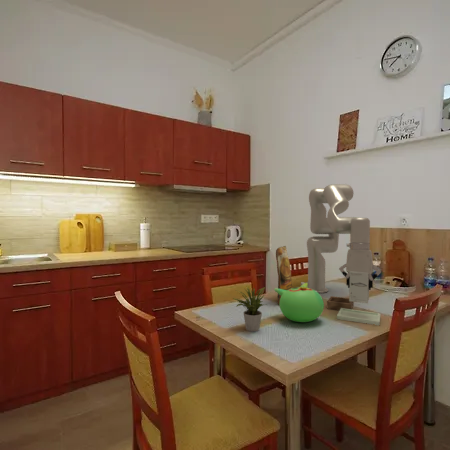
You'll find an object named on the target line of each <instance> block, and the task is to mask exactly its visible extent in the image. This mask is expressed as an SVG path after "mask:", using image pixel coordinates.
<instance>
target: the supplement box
mask: <svg viewBox="0 0 450 450" xmlns="http://www.w3.org/2000/svg"><path fill="white" fill-rule="evenodd" d="M348 289H349V290H348V291H349V294H348V295H349V301H353V302H354V303H362V304H368V303H369V299H370V298H369V297H370V290H369V274H368V273H364V272H352V271H350V288H348Z"/></svg>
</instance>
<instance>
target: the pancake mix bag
mask: <svg viewBox="0 0 450 450" xmlns="http://www.w3.org/2000/svg"><path fill="white" fill-rule="evenodd" d="M288 255H289V254H288V252H287V246H286V245H283V246H278V248H277V249H275V259H276V269H277V270H276V271H277V276H278V278H277V283H278V284H277V288H278V289H283V290H289V289H291V288H293V284H292V283H293V281H292V271H291V263H290V259H289V256H288ZM280 298H281V295H279V294H278V293H277V306H278V305H279V302H280ZM279 306H280V305H279Z"/></svg>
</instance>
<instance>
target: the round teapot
mask: <svg viewBox="0 0 450 450" xmlns="http://www.w3.org/2000/svg"><path fill="white" fill-rule="evenodd" d="M307 286H308V283H306V282H305V284H303V285H300V286H295V287H292V288H291V289H289V290H283V289H278V287H275V288H274V289H273V290H274V292H275V293H276V294H277V295H278V294H279V295H281V298H280V302H279V309H280V311H281V314H283V316H285V317H286V318H287V319H288V320H291V321H292V322H297V323H307V322H312V321H315V320H316V319H318V318H319V317H321V315H322V314H323V312H324V309H325V304H324V299H323V298H322V295H321V294H320V293H318V292H316V291H315V290H313V289H310V288H307Z"/></svg>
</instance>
